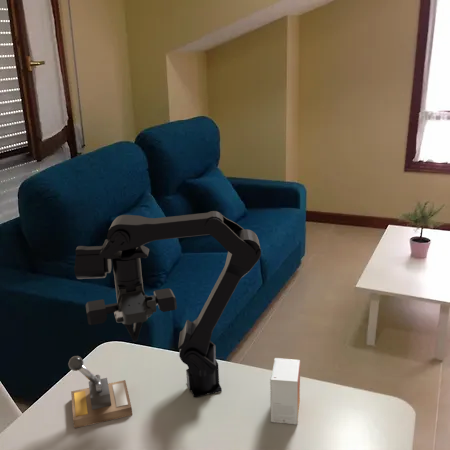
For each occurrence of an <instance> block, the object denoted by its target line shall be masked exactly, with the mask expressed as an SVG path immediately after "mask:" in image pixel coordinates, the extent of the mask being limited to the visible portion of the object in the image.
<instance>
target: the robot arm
mask: <svg viewBox="0 0 450 450" xmlns="http://www.w3.org/2000/svg"><path fill="white" fill-rule="evenodd" d="M208 235H209V236H211V237H212V238H214V239H215V240H216V241H217V242H218V243H219V244H220V245H221V246H222V247H223V248H224V250H226V251H227V255H226V260H225V264H224V267H223V269H222V270H221V273H220V274H219V276H218V278H217V280H216V282H215V284H214V286H213V288H212V289H211V292H210V293H209V296H208V297H207V300H206V301H205V302H204V305H203V307H202V309H201V310H200V313H199V314H198V317H196V318H195V320H193V321H190V320H189V319H186V320H185V321H186V322H185V324H184V327H183V328H182V330H180V332H179V339H178V348H177V349H178V350H179V358H180V360H181V362H182V363H183V364H185V365H187V368H186V370H185V372H186V384H187V387H188V389H189V392H191V394H192V395H193V398H199V397H203V396H207V395H212V394H215V393H221V392H222V389H223V388H222V386H221V385H220V375H219V374H220V372H219V363H218V361H217V357H216V355H217V354H216V350H217V349H216V344H215V343H213V341H211V339H212V335H213V332H214V329H215V327H216V325H217V324H218V322H219V320H220V318H221V316H222V315H223V313H224V310H226V307H227V305H228V303H229V302H230V300H231V298H232V295H233V294H234V292H235V291H236V289H237V286H238V285H239V283H240V281H241V280H242V278H244V277H245V276H246V275H247V274H248V273H249V272H251V270H252V269H253V268H254V267H255V265H256V264H257V263H258V262H259V261H260V259H261V255H262V250H261V249H262V248H261V244H260V240H259V238H258V235H257V234H256V232H255V231H253V230H251V229H247V228H245V229H244V227H242V226H241V225H239V224H238V223H237V222H234V221H233V220H231V219H229V218H227V217H225V215H223V214H222V213H221V212H219V211H217V210H212V211H208V212H201V213H192V214H191V213H190V214H183V215H175V216H173V215H172V216H164V217H163V216H162V217H156V218H155V217H154V218H153V217H145V216H142V215H137V214H136V215H134V214H132V215H131V214H121V215H119V216H117V217H116V218H115V219H114V220H113V221H112V223H111V225H110V227H109V228H108V232H107V234H106V237H107V238H106V239H105V240H104V243H103V244H102V245H99V246H98V245H96V246H95V245H94V246H86V245H78V246H77V247H76V249H75V258H74V259H75V260H74V268H73V270H74V271H73V272H74V275H75V278H76V279H77V280H83V279H84V280H85V279H105V278H106V277H107V274H111V271H113V276H114V285H115V286H114V287H115V293H116V294H115V296H116V302H114V303H108V304H106V303H105V299H97V300H89V301H87V302H86V304H85V310H86V317H87V319H86V320H87V324H88V325H90V326H93V325H99V324H104V323H105V322H106V321H107V319H108V315H109V314H114V318H115V321H116V323H118V324H119V323H122V324H123V325H124V326H125V328H126V329H127V332H128V334H129V335H130V338H131V339H132V341H133V342H137V341H138V340H139V335H140V332H141V329H142V325H143V323H145V322H147V321H148V320H149V319H148V318H150V317H151V316H152V315H154V313H157V306H158V309H159V311H161V312H162V313H165V312H171V311H176V310H177V309H178V304H177V298H176V296H175V294H174V292H173V290H172V289H171V288H162V289H156V290H154V291H153V295H148V294H145V291H144V283H143V282H144V281H143V275H142V263H141V259H147V258H148V257H149V252H150V248H148V247H147V246H145V245H146V244H149V243H151V242H155V241H161V240H170V239H171V240H172V239H181V238H182V239H183V238H191V237H198V236H199V237H200V236H208ZM112 268H113V269H112Z"/></svg>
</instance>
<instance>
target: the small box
mask: <svg viewBox="0 0 450 450" xmlns="http://www.w3.org/2000/svg"><path fill="white" fill-rule="evenodd" d="M272 366H273V367H272V373H271V376H270V379H269V380H270V381H269V385H270V387H269V388H270V389H269V390H270V391H269V393H270V394H269V395H270V401H269V402H270V422H271V423H277V424H288V425H298V423H299V421H298V420H299V411H300V402H301V360H300V359H291V358H282V357H274V359H273V365H272Z"/></svg>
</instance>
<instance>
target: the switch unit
mask: <svg viewBox="0 0 450 450" xmlns="http://www.w3.org/2000/svg"><path fill="white" fill-rule="evenodd" d="M101 385H102V392H101V393H97V391H96V385H94V384H93V383H92V382H91V381H90V380H88V387H86V388H81V389H77V390H73V391H70V392H71V394H70V395H71V406H72V407H71V408H72V409H71V410H72V421H73V427H74V429H77V428H82V427H86V426H91V425H94V424H95V425H96V424H98V423H104V422H107V421H112V420H116V419H120V418H121V419H122V418H125V417H129V416H133V408H132V404H131V403H132V402H131V399H130V394H129V391H128V390H129V389H128V385H127V382H126V379H123V380H119V381H114V382H110V383H109V382H108V377H103V378H101Z"/></svg>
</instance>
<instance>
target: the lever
mask: <svg viewBox="0 0 450 450" xmlns="http://www.w3.org/2000/svg"><path fill="white" fill-rule="evenodd" d="M67 365H68V368H69V369H70V370H71V371H75V372H79V373H80V374H81V375H83V376H84V377H85V378H86V379H87V380H88V381H91V382H92V383H93V384H94V385H96V391H97V393H101V392H102V385H101V379H102V377H101V375H100V374H96V375H95V374H94V373H93V372H91V371H90V369H88V368H87V367H86V366H85V365H84V360H83V358H82V357H81V356H79V355H74V356H72V357H71V358H69V361H68V363H67Z"/></svg>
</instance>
